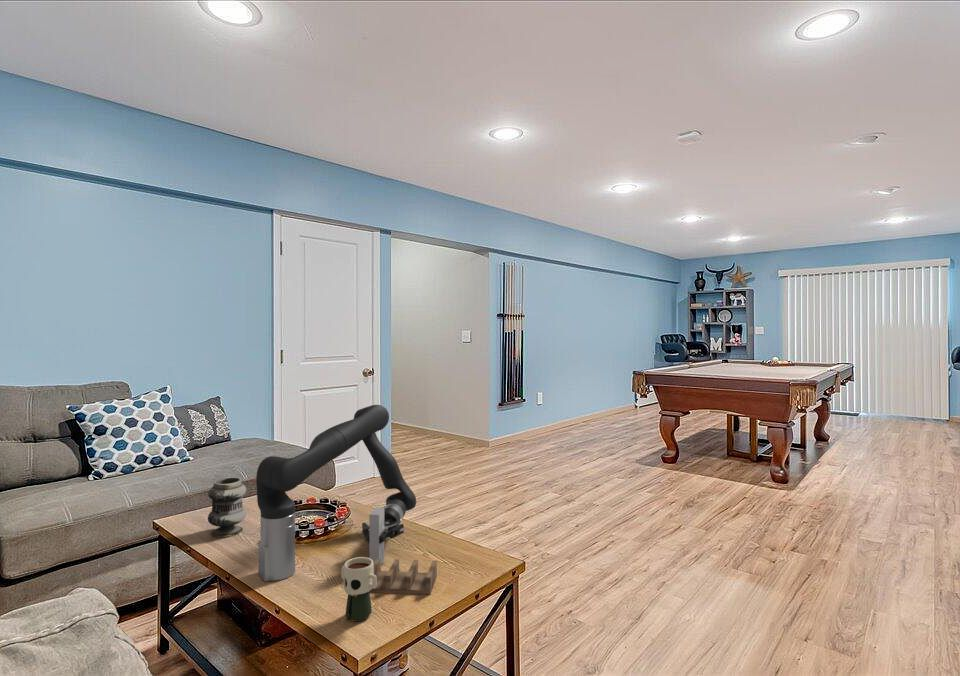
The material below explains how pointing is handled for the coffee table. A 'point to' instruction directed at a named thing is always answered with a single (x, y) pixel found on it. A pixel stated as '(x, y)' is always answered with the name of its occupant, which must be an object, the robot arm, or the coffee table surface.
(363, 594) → the character mug
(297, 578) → the coffee table surface
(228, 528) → the grey stone urn vase
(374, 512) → the clay strip
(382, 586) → the drying rack
